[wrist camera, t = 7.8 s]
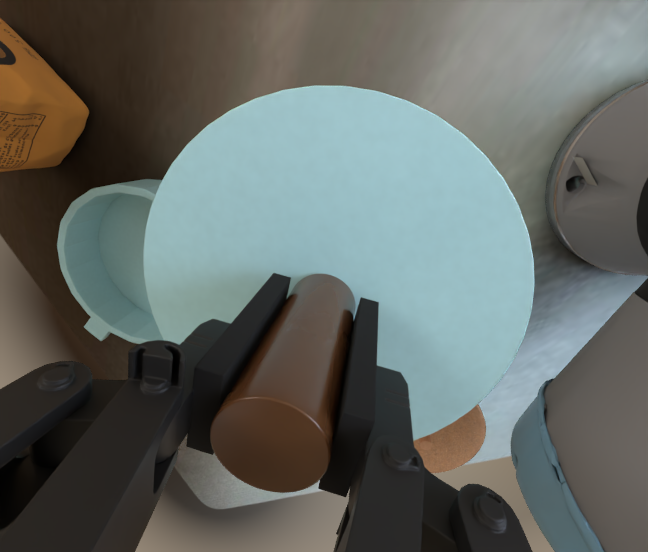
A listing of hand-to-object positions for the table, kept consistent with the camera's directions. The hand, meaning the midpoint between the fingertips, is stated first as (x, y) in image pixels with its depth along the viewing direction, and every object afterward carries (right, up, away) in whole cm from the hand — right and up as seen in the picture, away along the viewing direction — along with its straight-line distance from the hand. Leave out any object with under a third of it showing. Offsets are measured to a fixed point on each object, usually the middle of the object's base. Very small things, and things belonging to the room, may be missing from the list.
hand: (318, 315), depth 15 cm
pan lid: (0, +1, +2) cm, 2 cm away
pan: (-17, +4, +23) cm, 29 cm away
